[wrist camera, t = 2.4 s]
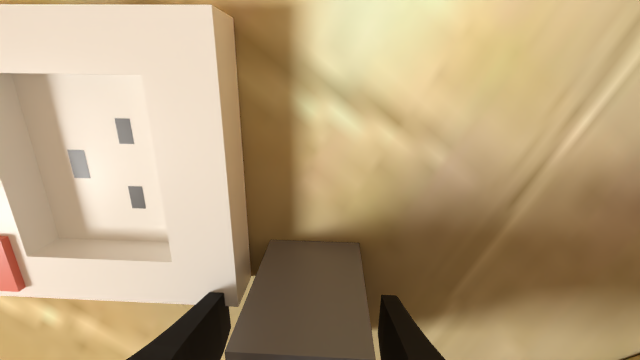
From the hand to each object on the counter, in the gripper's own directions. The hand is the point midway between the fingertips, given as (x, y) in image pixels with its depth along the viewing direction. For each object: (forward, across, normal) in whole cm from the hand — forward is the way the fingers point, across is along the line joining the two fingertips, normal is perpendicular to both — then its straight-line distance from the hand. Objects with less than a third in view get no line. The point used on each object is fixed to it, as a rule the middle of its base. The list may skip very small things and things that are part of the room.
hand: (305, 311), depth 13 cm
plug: (+2, 0, 0) cm, 2 cm away
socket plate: (+2, +8, -6) cm, 10 cm away
